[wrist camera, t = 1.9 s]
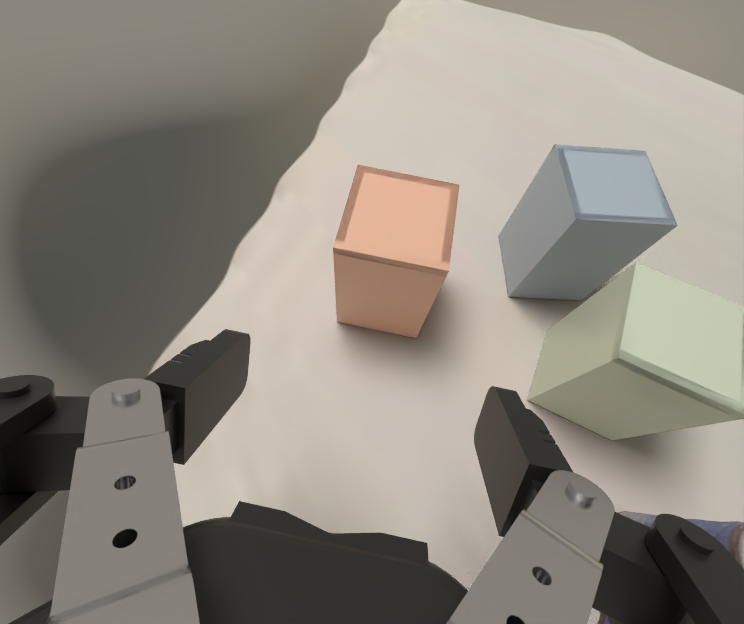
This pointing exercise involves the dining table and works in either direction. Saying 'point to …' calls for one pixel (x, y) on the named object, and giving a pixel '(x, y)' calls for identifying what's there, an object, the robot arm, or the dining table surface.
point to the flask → (732, 535)
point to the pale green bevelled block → (644, 358)
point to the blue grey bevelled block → (582, 222)
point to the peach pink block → (393, 249)
